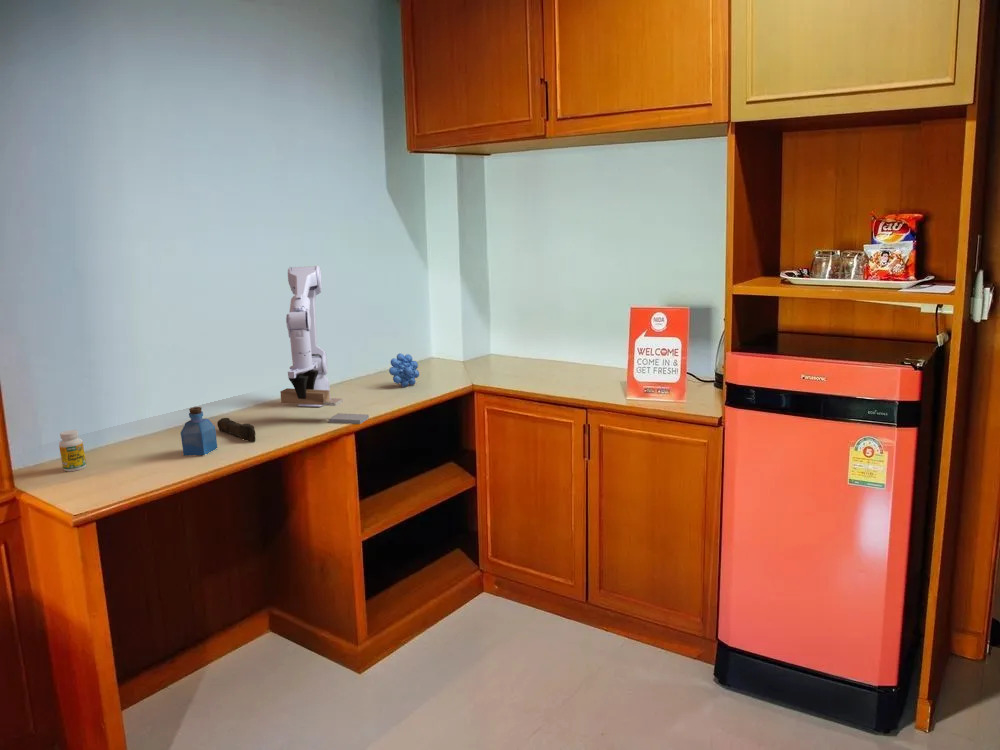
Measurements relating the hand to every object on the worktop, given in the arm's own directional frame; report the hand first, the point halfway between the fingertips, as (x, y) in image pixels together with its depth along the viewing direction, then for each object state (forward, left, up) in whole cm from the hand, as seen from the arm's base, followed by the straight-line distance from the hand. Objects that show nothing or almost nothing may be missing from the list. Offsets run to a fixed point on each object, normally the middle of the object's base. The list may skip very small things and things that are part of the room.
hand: (305, 396), depth 246 cm
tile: (0, +8, -6) cm, 11 cm away
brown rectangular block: (0, +2, -2) cm, 3 cm away
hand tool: (+18, -11, -7) cm, 23 cm away
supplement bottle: (+51, -39, -7) cm, 64 cm away
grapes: (-42, +15, -7) cm, 45 cm away
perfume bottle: (+34, -14, -7) cm, 37 cm away
